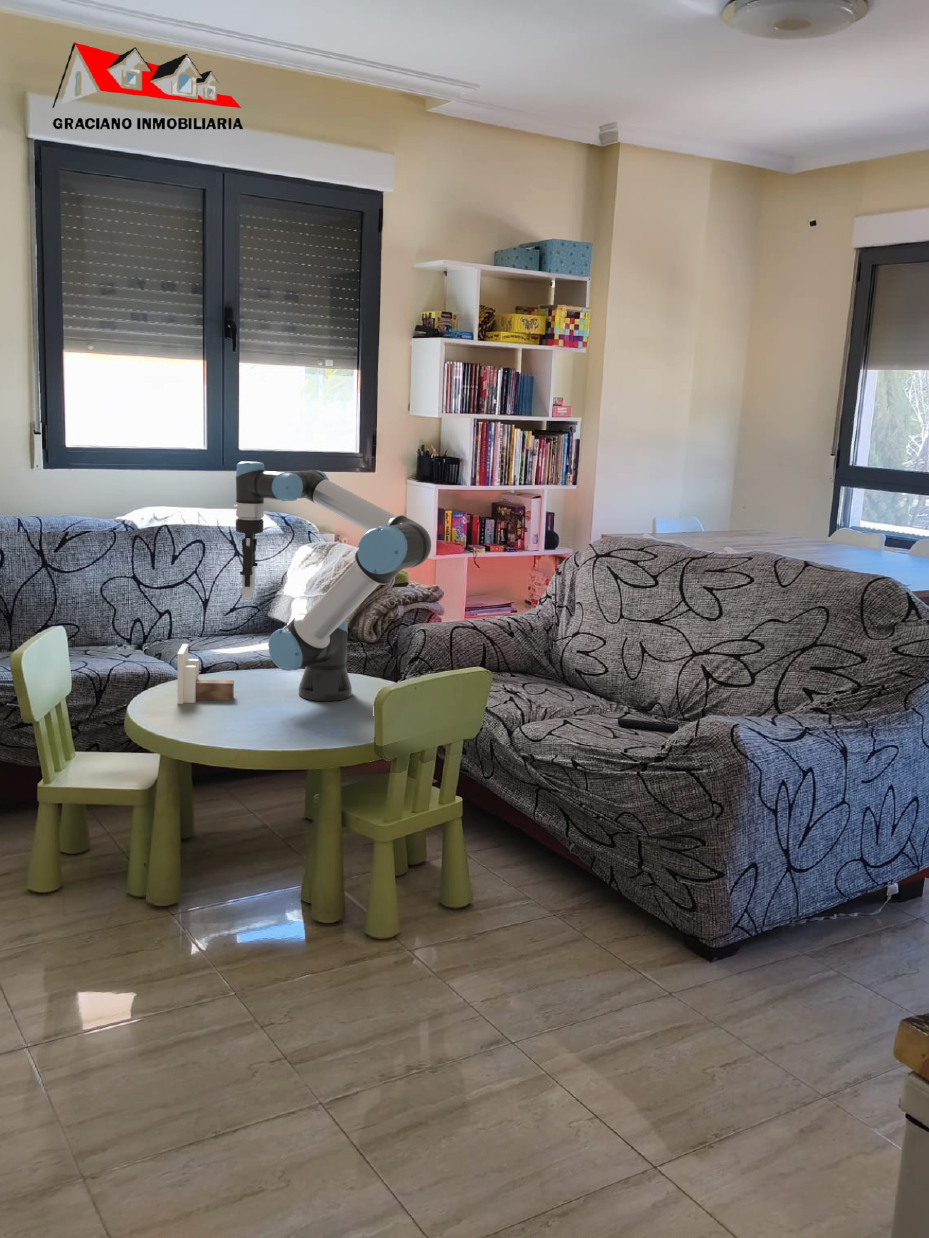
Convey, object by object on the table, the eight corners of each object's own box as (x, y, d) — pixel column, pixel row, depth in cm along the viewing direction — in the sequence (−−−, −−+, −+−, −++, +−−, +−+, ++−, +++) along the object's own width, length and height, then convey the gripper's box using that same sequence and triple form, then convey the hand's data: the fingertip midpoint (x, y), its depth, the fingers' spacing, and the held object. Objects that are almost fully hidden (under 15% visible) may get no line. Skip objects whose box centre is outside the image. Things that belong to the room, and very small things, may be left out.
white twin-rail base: (198, 692, 309) (199, 644, 306) (194, 704, 297) (194, 654, 294) (182, 692, 308) (182, 643, 305) (177, 703, 296) (177, 653, 294)
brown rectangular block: (188, 700, 301) (188, 682, 300) (189, 696, 304) (189, 679, 303) (232, 700, 303) (232, 683, 302) (233, 697, 306) (233, 680, 305)
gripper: (238, 512, 312) (238, 585, 316) (232, 522, 288) (231, 601, 292) (265, 513, 313) (264, 586, 317) (261, 523, 289) (260, 602, 293)
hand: (248, 593), depth 305 cm, fingers open, 13 cm apart
